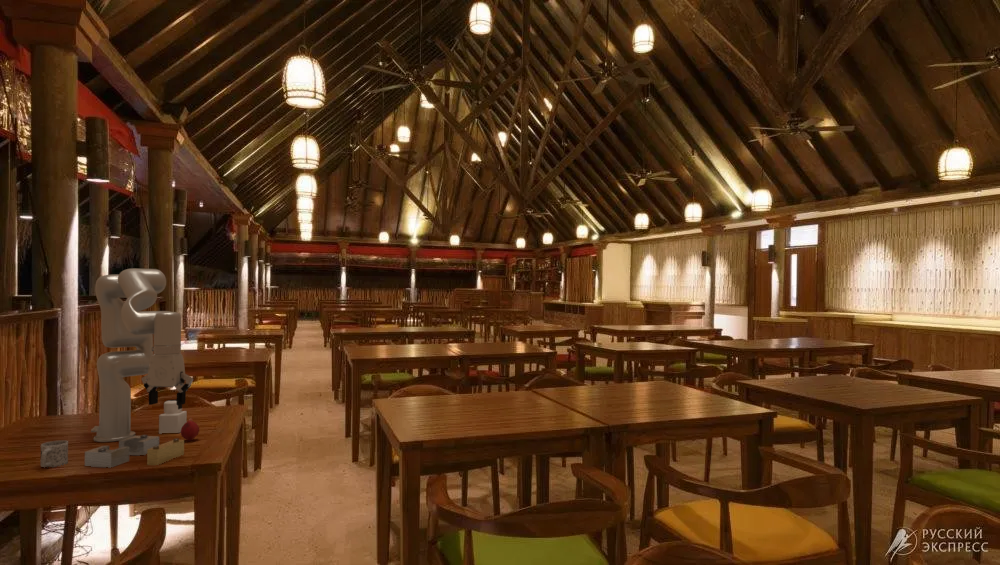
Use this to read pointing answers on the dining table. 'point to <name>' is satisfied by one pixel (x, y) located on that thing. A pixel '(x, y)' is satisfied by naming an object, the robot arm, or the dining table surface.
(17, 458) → the dining table surface
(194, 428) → the onion
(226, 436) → the dining table surface
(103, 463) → the block
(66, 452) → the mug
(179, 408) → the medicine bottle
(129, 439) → the block
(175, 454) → the tan block
